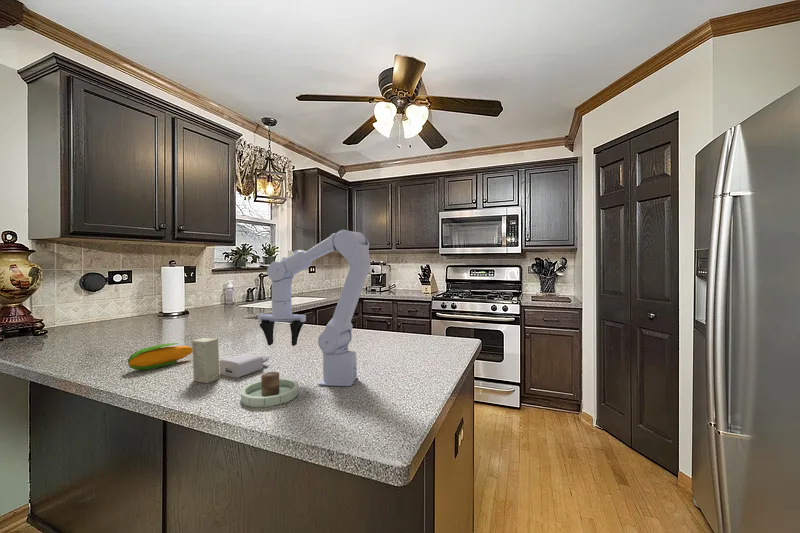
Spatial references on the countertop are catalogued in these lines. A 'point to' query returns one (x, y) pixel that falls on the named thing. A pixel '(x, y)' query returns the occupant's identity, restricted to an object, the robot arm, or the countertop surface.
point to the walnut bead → (270, 384)
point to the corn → (157, 356)
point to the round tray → (254, 397)
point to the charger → (242, 364)
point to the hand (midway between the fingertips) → (282, 344)
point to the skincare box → (205, 360)
